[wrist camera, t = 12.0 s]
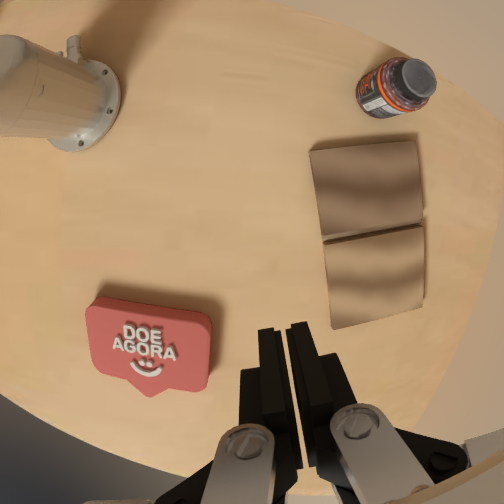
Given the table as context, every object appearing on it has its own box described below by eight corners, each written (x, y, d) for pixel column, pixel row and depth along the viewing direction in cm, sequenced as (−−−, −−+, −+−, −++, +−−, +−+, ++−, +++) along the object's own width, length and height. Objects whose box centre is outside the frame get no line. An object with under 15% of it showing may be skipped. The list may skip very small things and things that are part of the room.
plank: (322, 242, 37) (324, 245, 36) (419, 224, 36) (423, 226, 35) (330, 325, 40) (333, 330, 39) (418, 303, 40) (422, 307, 39)
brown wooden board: (308, 151, 34) (310, 151, 33) (410, 141, 33) (415, 140, 32) (322, 239, 37) (324, 242, 36) (419, 221, 36) (423, 223, 35)
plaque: (95, 387, 40) (81, 304, 36) (103, 373, 43) (93, 293, 39) (205, 409, 40) (210, 326, 36) (208, 393, 44) (213, 312, 40)
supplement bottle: (360, 67, 31) (400, 37, 20) (400, 88, 31) (449, 68, 20) (347, 107, 32) (386, 87, 21) (389, 127, 33) (438, 118, 22)
